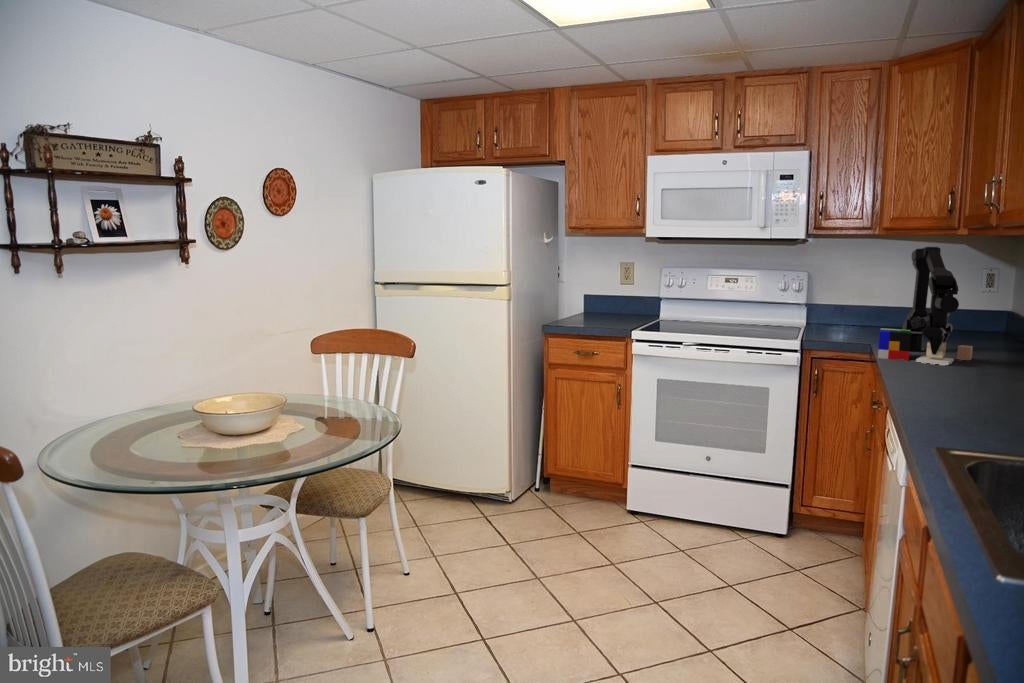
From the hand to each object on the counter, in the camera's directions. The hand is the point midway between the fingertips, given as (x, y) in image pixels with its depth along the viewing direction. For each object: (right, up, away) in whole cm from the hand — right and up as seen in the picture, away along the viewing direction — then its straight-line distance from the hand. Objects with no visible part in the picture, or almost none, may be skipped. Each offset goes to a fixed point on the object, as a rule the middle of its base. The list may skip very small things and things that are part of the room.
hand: (935, 353), depth 258 cm
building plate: (0, -3, 0) cm, 3 cm away
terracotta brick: (+14, -3, +6) cm, 15 cm away
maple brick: (0, -1, 0) cm, 1 cm away
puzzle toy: (-9, -2, +11) cm, 15 cm away
